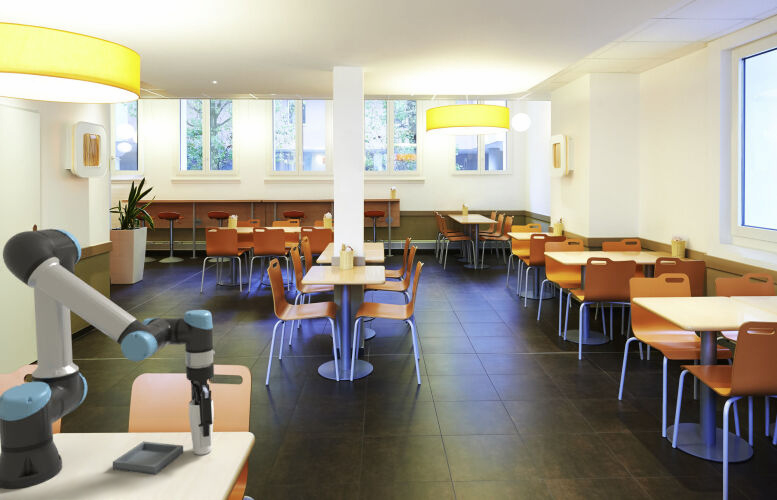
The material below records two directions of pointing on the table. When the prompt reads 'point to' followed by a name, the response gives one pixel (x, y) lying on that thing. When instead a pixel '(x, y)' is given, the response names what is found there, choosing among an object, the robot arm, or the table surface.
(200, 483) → the table surface
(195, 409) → the white cup
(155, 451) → the grey tray
